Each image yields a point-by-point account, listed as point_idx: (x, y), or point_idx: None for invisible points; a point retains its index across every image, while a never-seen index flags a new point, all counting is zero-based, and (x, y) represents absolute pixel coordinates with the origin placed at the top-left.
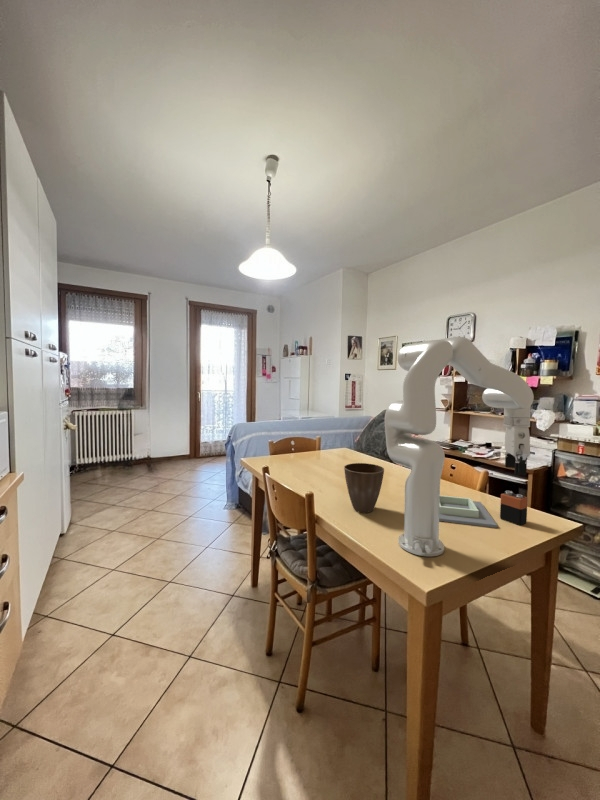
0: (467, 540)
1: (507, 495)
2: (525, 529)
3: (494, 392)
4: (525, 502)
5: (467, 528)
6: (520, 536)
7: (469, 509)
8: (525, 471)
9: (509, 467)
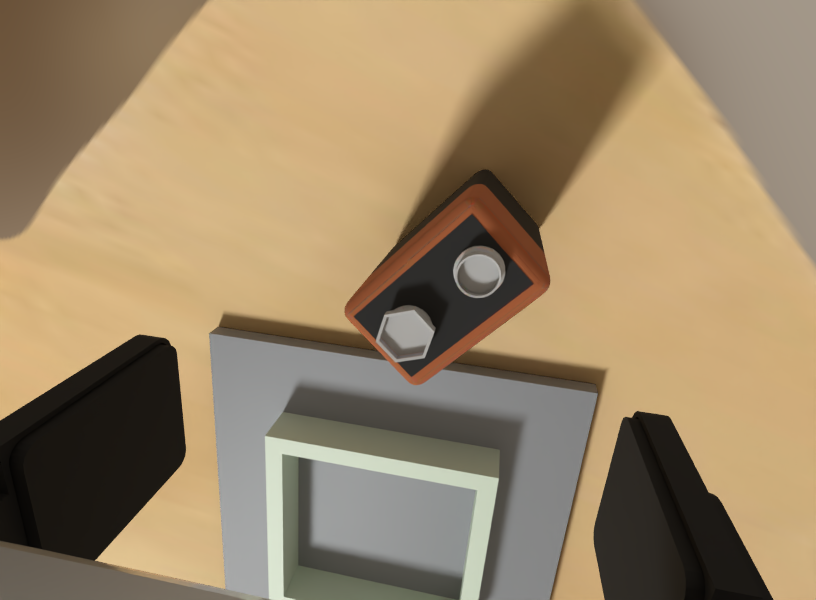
0: (770, 583)
1: (452, 356)
2: (591, 222)
3: None
4: (506, 219)
5: None
6: (705, 303)
7: (482, 519)
8: (685, 467)
9: (177, 412)
